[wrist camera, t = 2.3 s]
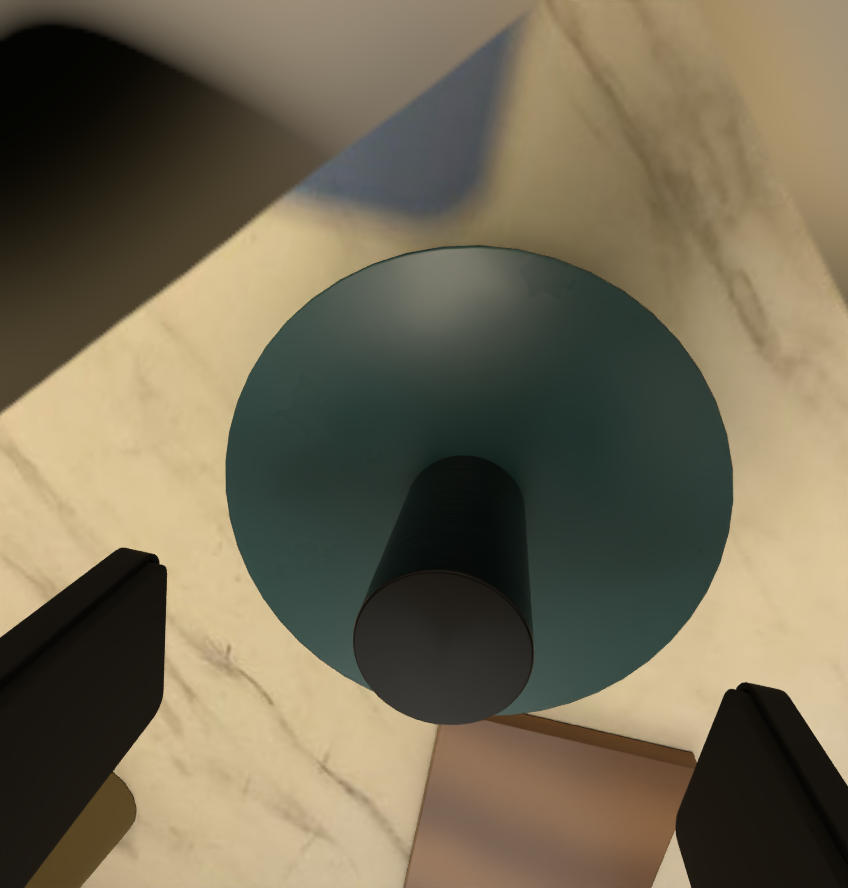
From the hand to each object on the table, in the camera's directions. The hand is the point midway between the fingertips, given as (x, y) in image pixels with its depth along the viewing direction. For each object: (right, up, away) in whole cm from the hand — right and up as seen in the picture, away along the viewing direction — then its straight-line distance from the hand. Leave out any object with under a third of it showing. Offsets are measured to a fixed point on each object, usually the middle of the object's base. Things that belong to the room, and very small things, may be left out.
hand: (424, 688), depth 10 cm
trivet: (+6, -16, +21) cm, 27 cm away
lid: (+1, +2, +7) cm, 7 cm away
